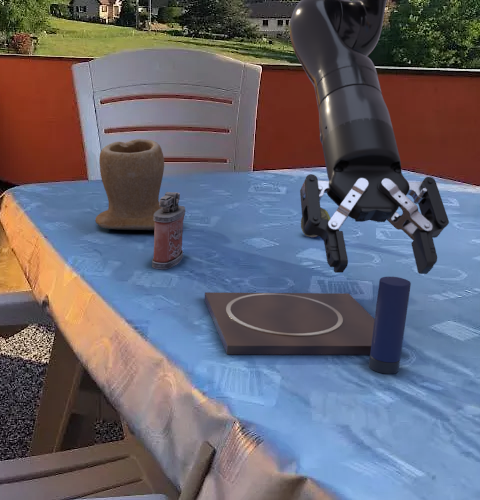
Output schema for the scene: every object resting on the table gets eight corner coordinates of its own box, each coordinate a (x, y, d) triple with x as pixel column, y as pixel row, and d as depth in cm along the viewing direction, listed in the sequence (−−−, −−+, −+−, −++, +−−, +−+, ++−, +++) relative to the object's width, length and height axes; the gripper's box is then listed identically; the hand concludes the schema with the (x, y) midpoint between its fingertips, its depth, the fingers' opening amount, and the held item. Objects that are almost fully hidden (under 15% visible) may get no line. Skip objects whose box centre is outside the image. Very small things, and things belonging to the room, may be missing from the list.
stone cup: (91, 237, 114) (91, 143, 110) (99, 219, 125) (99, 134, 121) (185, 240, 113) (189, 147, 109) (184, 223, 125) (188, 137, 120)
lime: (330, 240, 115) (333, 211, 114) (300, 238, 116) (302, 208, 115) (328, 234, 120) (331, 205, 118) (299, 232, 120) (302, 203, 119)
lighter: (165, 252, 106) (168, 187, 104) (187, 255, 105) (190, 189, 102) (147, 267, 99) (149, 197, 96) (169, 270, 98) (172, 199, 95)
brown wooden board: (348, 300, 88) (349, 292, 88) (400, 355, 73) (402, 344, 72) (204, 299, 87) (204, 291, 87) (226, 354, 72) (227, 344, 71)
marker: (391, 361, 71) (403, 276, 68) (403, 374, 68) (416, 285, 66) (364, 361, 71) (375, 276, 68) (375, 374, 68) (386, 285, 66)
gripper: (301, 114, 74) (324, 250, 66) (435, 117, 74) (472, 252, 67) (284, 157, 80) (303, 286, 72) (407, 159, 81) (438, 287, 73)
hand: (384, 269), depth 70 cm, fingers open, 8 cm apart
